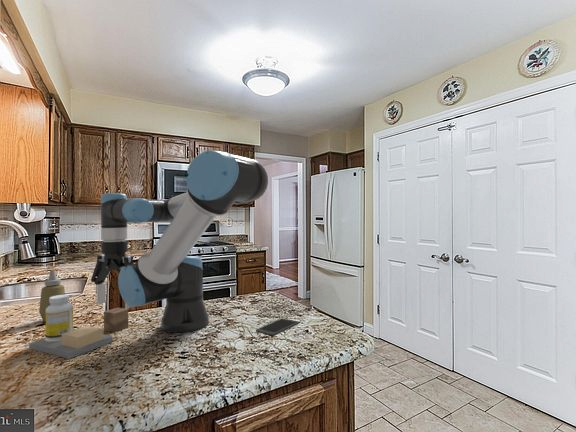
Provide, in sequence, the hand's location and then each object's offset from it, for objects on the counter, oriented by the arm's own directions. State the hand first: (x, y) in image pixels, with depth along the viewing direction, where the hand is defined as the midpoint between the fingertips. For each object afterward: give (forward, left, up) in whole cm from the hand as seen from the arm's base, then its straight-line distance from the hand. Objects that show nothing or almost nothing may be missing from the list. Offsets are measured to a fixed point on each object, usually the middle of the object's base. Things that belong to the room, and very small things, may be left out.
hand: (115, 305), depth 102 cm
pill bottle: (+5, +14, -6) cm, 16 cm away
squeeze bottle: (+30, +2, -8) cm, 31 cm away
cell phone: (-49, -20, -8) cm, 54 cm away
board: (0, +14, -7) cm, 16 cm away
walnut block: (0, 0, -8) cm, 8 cm away
